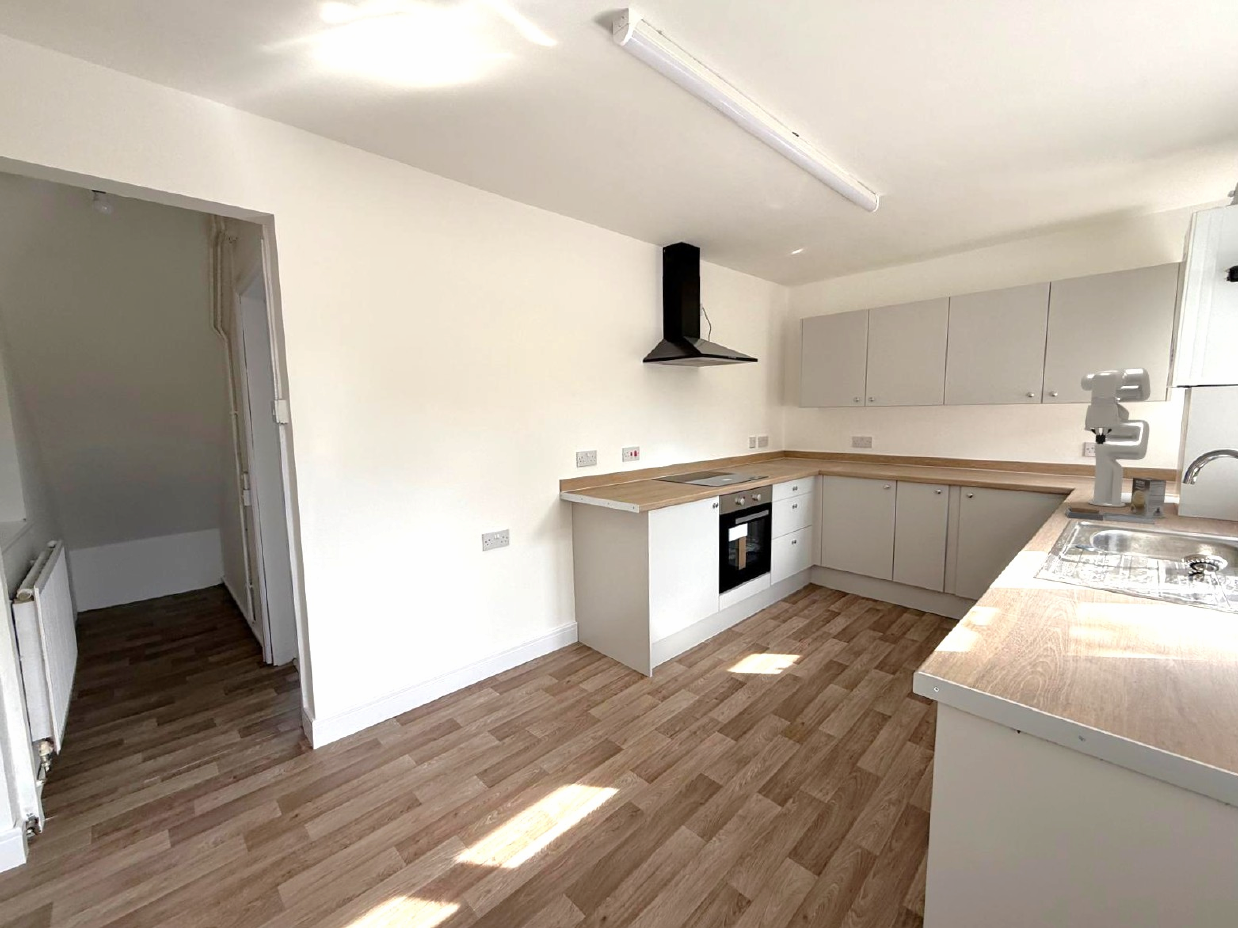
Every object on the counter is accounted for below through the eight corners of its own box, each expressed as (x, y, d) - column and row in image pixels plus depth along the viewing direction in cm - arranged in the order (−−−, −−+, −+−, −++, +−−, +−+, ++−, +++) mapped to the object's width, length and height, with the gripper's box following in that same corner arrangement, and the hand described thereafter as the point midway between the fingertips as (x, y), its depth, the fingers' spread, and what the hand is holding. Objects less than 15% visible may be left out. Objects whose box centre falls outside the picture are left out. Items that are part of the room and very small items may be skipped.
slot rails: (1102, 516, 216) (1102, 512, 216) (1148, 519, 208) (1148, 515, 208) (1105, 520, 209) (1106, 515, 208) (1154, 523, 200) (1154, 519, 200)
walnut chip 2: (1082, 516, 218) (1082, 507, 217) (1094, 517, 215) (1095, 507, 215) (1083, 517, 215) (1084, 508, 214) (1096, 518, 212) (1096, 509, 212)
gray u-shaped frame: (1065, 513, 224) (1065, 507, 224) (1098, 515, 218) (1098, 510, 217) (1068, 517, 215) (1068, 512, 214) (1103, 520, 208) (1103, 514, 208)
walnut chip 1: (1069, 515, 220) (1070, 506, 220) (1082, 516, 218) (1082, 506, 218) (1070, 516, 217) (1071, 507, 217) (1083, 517, 215) (1084, 508, 214)
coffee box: (1128, 513, 220) (1131, 477, 219) (1146, 514, 219) (1149, 477, 218) (1146, 517, 211) (1149, 480, 210) (1164, 518, 210) (1167, 480, 209)
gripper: (1125, 401, 217) (1122, 443, 219) (1078, 402, 225) (1075, 443, 227) (1129, 401, 210) (1126, 444, 213) (1081, 402, 219) (1078, 444, 221)
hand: (1100, 443), depth 220 cm, fingers closed
